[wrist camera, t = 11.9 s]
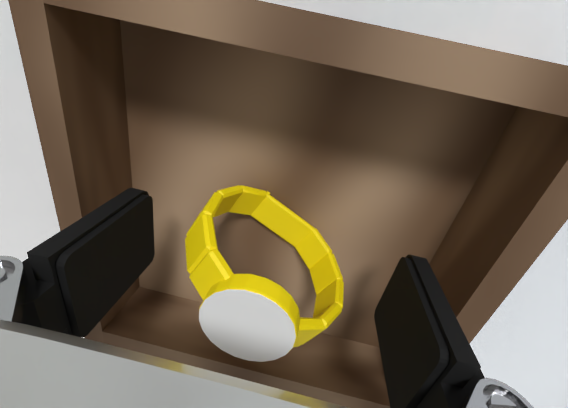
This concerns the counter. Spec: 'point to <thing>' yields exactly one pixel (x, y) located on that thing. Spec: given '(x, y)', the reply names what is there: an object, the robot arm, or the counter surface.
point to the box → (297, 163)
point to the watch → (259, 281)
